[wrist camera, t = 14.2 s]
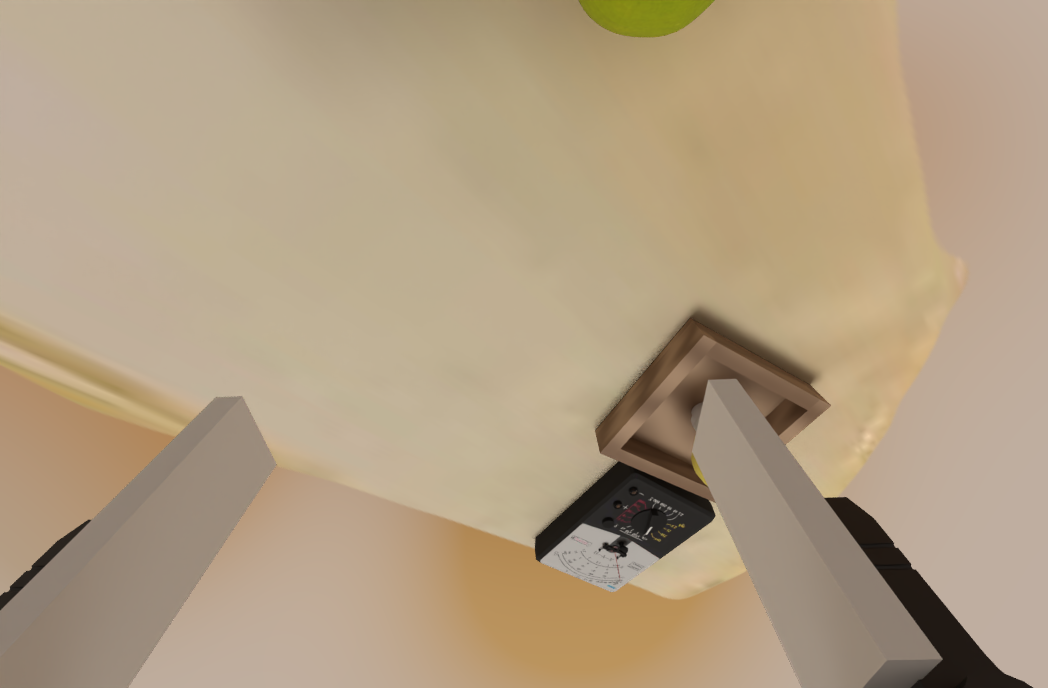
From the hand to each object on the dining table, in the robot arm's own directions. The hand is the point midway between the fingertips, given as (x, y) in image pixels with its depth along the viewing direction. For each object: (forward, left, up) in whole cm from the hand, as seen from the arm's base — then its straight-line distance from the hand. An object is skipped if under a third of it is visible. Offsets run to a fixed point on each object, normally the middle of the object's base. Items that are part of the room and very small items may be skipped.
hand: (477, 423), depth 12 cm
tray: (+8, +27, -26) cm, 38 cm away
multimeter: (+27, +30, -27) cm, 48 cm away
